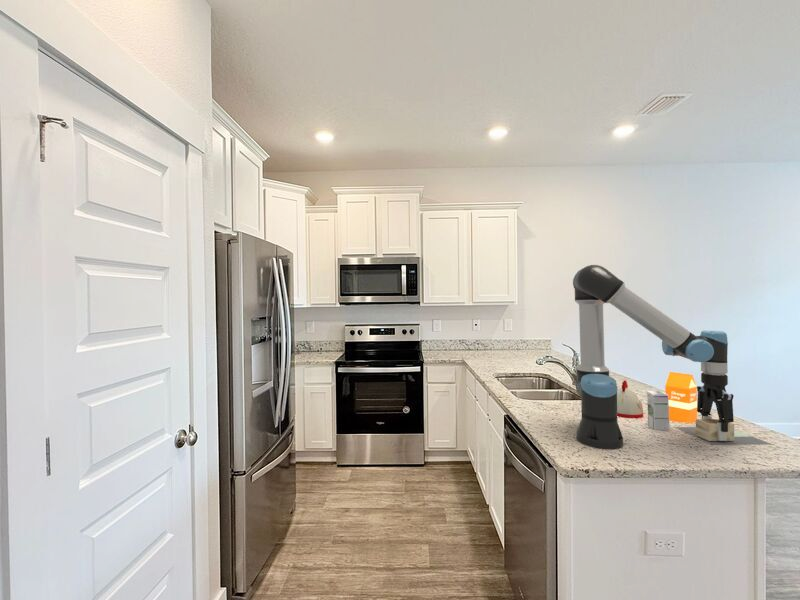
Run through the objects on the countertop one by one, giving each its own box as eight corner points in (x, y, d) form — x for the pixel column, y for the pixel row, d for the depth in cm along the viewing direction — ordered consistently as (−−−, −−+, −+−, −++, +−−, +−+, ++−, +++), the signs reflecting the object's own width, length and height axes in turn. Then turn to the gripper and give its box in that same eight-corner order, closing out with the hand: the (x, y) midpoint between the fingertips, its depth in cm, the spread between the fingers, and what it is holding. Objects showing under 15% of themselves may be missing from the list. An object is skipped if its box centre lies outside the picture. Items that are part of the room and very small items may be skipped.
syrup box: (670, 431, 149) (669, 394, 149) (653, 430, 151) (652, 393, 151) (663, 427, 155) (662, 391, 155) (647, 426, 156) (646, 390, 156)
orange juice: (689, 424, 158) (688, 375, 158) (665, 419, 165) (664, 372, 165) (697, 421, 162) (696, 373, 162) (673, 416, 169) (673, 370, 170)
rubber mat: (712, 446, 134) (712, 444, 134) (673, 428, 153) (673, 426, 153) (772, 445, 134) (772, 443, 134) (726, 428, 153) (726, 426, 153)
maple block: (708, 441, 137) (708, 423, 137) (695, 435, 143) (695, 418, 143) (734, 440, 137) (734, 423, 137) (720, 435, 143) (720, 418, 143)
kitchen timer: (604, 414, 173) (604, 381, 173) (611, 408, 183) (611, 376, 184) (640, 420, 164) (639, 385, 164) (645, 413, 174) (645, 380, 175)
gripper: (747, 378, 130) (748, 446, 130) (704, 368, 149) (704, 428, 149) (725, 378, 130) (726, 446, 130) (684, 368, 149) (685, 428, 149)
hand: (714, 436), depth 140 cm, fingers closed on maple block, 6 cm apart
